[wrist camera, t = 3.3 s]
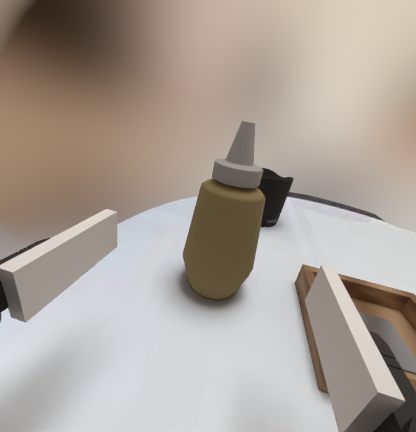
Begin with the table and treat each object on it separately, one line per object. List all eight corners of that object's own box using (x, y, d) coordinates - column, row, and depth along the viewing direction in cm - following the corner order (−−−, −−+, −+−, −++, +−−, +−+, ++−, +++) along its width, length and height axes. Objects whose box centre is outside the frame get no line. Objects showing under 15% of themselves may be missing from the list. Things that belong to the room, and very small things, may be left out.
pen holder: (236, 223, 43) (248, 173, 39) (234, 206, 51) (244, 164, 47) (282, 231, 43) (299, 183, 39) (273, 213, 51) (286, 172, 47)
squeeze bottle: (179, 259, 29) (199, 113, 22) (236, 263, 30) (273, 127, 23) (178, 307, 22) (207, 113, 14) (253, 310, 23) (315, 134, 16)
